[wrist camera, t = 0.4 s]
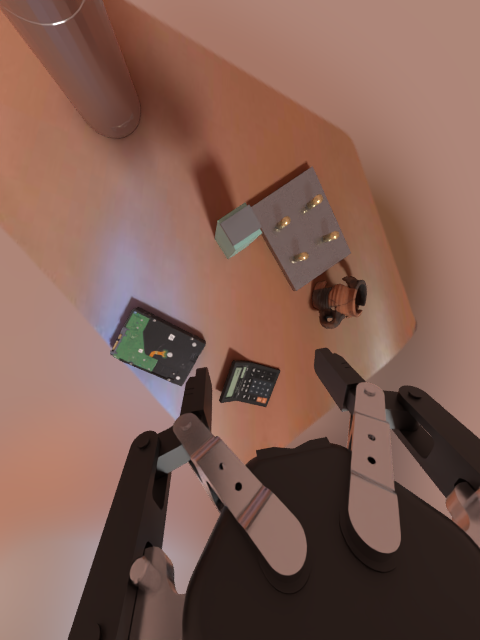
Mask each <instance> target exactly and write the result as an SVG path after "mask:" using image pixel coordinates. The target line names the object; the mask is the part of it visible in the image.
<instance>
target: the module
mask: <svg viewBox="0 0 480 640" xmlns="http://www.w3.org/2000/svg"><path fill="white" fill-rule="evenodd" d="M261 227H262V226H261V224H260V223H259V221H258V219H257V217H256V215H255V214H254V212H253V210H252V208H251V206H250V205H248V206H247V205H246V203H243V204H242V205H240V206H239V207H237V208H236V209H234V210H233V211H231V212H230V213H228V214H227V215H225V216H224V217H222V218H221V219H219V220H218V221H217V227H216V233H215V240H216V242H217V243H218V245H219V246H220V248H221V249H222V251H223V253H224V254H225V256H226V257H227V259H229V258H231V257H232V256H234V255H235V254H237V253H238V252H240V251H241V250H243V249H244V248H246V247H247V246H248V245H249V244H250V243H251V242H253V241H254V240H255V239H256V238H257V237H258V236H259V235H260V234H262V231H261V230H260V228H261Z"/></svg>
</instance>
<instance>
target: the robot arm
mask: <svg viewBox="0 0 480 640" xmlns="http://www.w3.org/2000/svg"><path fill="white" fill-rule="evenodd" d="M0 9H1V10H2V12H3V13H4V14H5V16H6V17H7V18H8V19H9V21H10V22H11V23H12V25H13V26H14V27H15V29H16V30H17V31H18V33H19V34H20V35H21V37H22V38H23V39H24V41H25V42H26V43H27V45H28V46H29V47H30V49H31V50H32V51H33V53H34V54H35V55H36V57H37V58H38V59H39V60H40V62H41V63H42V64H43V66H44V67H45V68H46V70H47V71H48V72H49V74H50V75H51V76H52V78H53V79H54V80H55V82H56V83H57V84H58V86H59V87H60V88H61V90H62V91H63V92H64V94H65V95H66V96H67V98H68V99H69V100H70V102H71V103H72V104H73V106H74V107H75V108H76V110H77V111H78V112H79V114H80V115H81V116H82V118H83V119H84V120H85V121H86V123H87V124H88V125H89V126H90V127H91V128H92V129H94V130H95V131H96V132H98V133H100V134H102V135H104V136H107V137H110V138H121V137H125V136H127V135H129V134H130V133H132V132H133V131H134V130H135V128H136V127H137V125H138V122H139V120H140V114H141V110H140V102H139V98H138V95H137V93H136V90H135V87H134V85H133V82H132V79H131V77H130V74H129V71H128V68H127V66H126V63H125V60H124V57H123V55H122V52H121V49H120V47H119V44H118V41H117V39H116V36H115V33H114V31H113V28H112V25H111V23H110V20H109V17H108V14H107V12H106V9H105V6H104V4H103V1H102V0H0ZM314 369H315V372H316V374H317V376H318V377H319V379H320V380H321V382H322V383H323V384H324V386H325V387H326V389H327V390H328V392H329V393H330V395H331V396H332V398H333V399H334V401H335V402H336V404H337V405H338V407H339V408H340V410H341V411H342V412H343V411H349V412H350V421H349V430H348V440H347V447H346V448H345V447H343V446H340V445H337V444H333V443H330V442H329V441H328V439H327V437H325V438H319V439H315V440H309V441H307V442H306V443H304V444H302V445H300V446H298V447H296V448H293V449H290V448H279V447H271V448H266V449H261V450H256V454H257V457H255V458H253V459H252V460H250V461H249V462H248V463H247V464H246V465H244V464H243V463H242V462H241V460H240V459H239V458H238V457H237V456H236V455H235V454H234V453H233V452H232V451H231V449H230V448H229V447H228V446H227V445H226V444H225V443H224V442H223V441H222V440H221V439H220V438H219V437H218V436H216V437H215V436H214V435H213V434H212V433H211V421H212V384H211V380H210V376H209V372H208V368H207V367H204V368H198V369H196V376H195V377H190V378H189V380H188V381H187V382H186V386H185V391H184V397H183V402H182V407H181V413H180V417H179V418H177V420H176V421H175V423H174V425H173V426H172V427H170V428H169V429H167V430H165V431H163V432H161V433H159V434H157V433H156V432H154V431H146V432H144V433H142V434H140V435H139V436H138V437H137V438H136V439H135V440H134V441H133V443H132V445H131V447H130V450H129V453H128V456H127V459H126V462H125V465H124V469H123V471H122V475H121V478H120V481H119V484H118V487H117V490H116V493H115V496H114V499H113V502H112V505H111V508H110V511H109V514H108V518H107V520H106V524H105V527H104V530H103V533H102V536H101V539H100V542H99V545H98V548H97V551H96V554H95V558H94V561H93V564H92V567H91V569H90V573H89V576H88V579H87V582H86V585H85V588H84V591H83V594H82V597H81V600H80V604H79V606H78V609H77V612H76V615H75V618H74V622H73V625H72V628H71V631H70V634H69V637H68V640H480V439H479V438H478V437H477V436H475V435H474V434H473V433H472V432H471V431H470V430H469V429H467V428H466V427H465V426H464V425H463V424H461V423H460V422H459V421H458V420H457V419H456V418H455V417H454V416H452V415H451V414H450V413H449V412H448V411H446V410H445V409H444V408H443V407H442V406H441V405H440V404H439V403H437V402H436V401H435V400H434V399H432V398H431V397H430V396H429V395H428V394H427V393H426V392H424V391H423V390H421V389H419V388H416V387H413V386H402V387H400V388H399V391H398V392H393V391H383V390H382V389H381V388H379V387H378V386H376V385H374V384H372V383H368V382H365V380H364V379H363V378H362V377H361V376H360V375H359V374H358V373H357V372H356V371H355V370H354V369H353V368H352V367H351V366H350V365H349V364H348V363H347V362H346V361H345V359H344V358H343V357H341V356H339V355H338V354H336V353H334V354H332V352H331V351H330V350H329V349H328V348H321V349H316V350H315V360H314ZM390 429H392V430H393V431H394V432H395V434H396V435H397V436H398V438H399V439H400V440H401V441H402V443H403V444H404V445H405V447H406V448H407V449H408V450H409V451H410V453H411V454H412V455H413V457H414V458H415V459H416V460H417V462H418V463H419V464H420V466H421V467H422V468H423V469H424V471H425V472H426V473H427V474H428V476H429V477H430V478H431V480H432V481H433V482H434V483H435V485H436V486H437V487H438V488H439V490H440V491H441V492H442V493H443V495H444V496H445V497H446V507H447V509H448V511H449V513H450V515H451V516H452V520H451V519H449V518H448V517H446V516H445V515H444V514H442V513H441V512H439V511H438V510H436V509H435V508H434V507H432V506H431V505H429V504H428V503H426V502H425V501H423V500H422V499H420V498H419V497H418V496H416V495H415V494H413V493H412V492H410V491H409V490H407V489H406V488H405V487H403V486H402V485H400V484H399V483H397V482H396V481H394V477H393V463H392V451H391V437H390ZM424 429H425V430H426V431H427V432H428V433H429V434H430V435H431V436H430V435H429V434H428V433H427V432H426V431H425V430H424ZM187 462H188V464H189V465H190V467H191V469H192V470H193V472H194V473H195V475H196V476H197V478H198V479H199V481H200V482H201V484H202V485H203V487H204V488H205V490H206V492H207V494H208V496H209V497H210V499H211V501H212V502H213V504H214V505H215V507H216V509H217V510H218V512H219V513H220V516H219V518H218V520H217V523H216V524H215V527H214V529H213V531H212V533H211V535H210V537H209V539H208V542H207V544H206V546H205V548H204V550H203V552H202V554H201V557H200V559H199V561H198V563H197V565H196V567H195V569H194V571H193V574H192V576H191V578H190V581H189V584H188V587H187V591H186V594H178V593H177V591H176V587H175V582H174V567H173V564H172V561H171V560H170V559H169V557H168V556H167V555H166V554H165V553H164V552H163V550H162V543H163V535H164V528H165V520H166V511H167V504H168V496H169V488H170V480H171V472H172V471H173V470H175V469H176V468H178V467H180V466H181V465H183V464H185V463H187Z"/></svg>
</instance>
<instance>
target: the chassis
mask: <svg viewBox="0 0 480 640" xmlns="http://www.w3.org/2000/svg"><path fill="white" fill-rule="evenodd" d="M251 208H252V210H253V212H254V214H255V215H256V217H257V219H258V221H259V223H260V224H261V226H262V227H261V228H260V230H261V231H262V236H263V238H264V240H265V241H266V243H267V245H268V247H269V249H270V250H271V252H272V254H273V256H274V258H275V259H276V261H277V263H278V265H279V266H280V268H281V270H282V272H283V274H284V275H285V277H286V279H287V281H288V282H289V284H290V286H291V288H292V290H293V291H297V290H298V289H300V288H301V287H303V286H304V285H306V284H307V283H309V282H310V281H311V280H313V279H314V278H316V277H317V276H319V275H320V274H322V273H323V272H325V271H326V270H328V269H329V268H330V267H332V266H333V265H335V264H336V263H338V262H339V261H341V260H342V259H344V258H345V257H346V256H348V255H349V254H351V252H350V250H349V247H348V245H347V243H346V241H345V238H344V236H343V234H342V232H341V229H340V227H339V225H338V223H337V220H336V218H335V216H334V214H333V211H332V209H331V207H330V205H329V202H328V200H327V198H326V196H325V193H324V191H323V189H322V187H321V184H320V182H319V180H318V178H317V175H316V173H315V171H314V169H313V166H312V167H311V168H309V169H308V170H306V171H305V172H303V173H302V174H300V175H299V176H297V177H296V178H294V179H293V180H291V181H290V182H288V183H287V184H285V185H284V186H282V187H281V188H279V189H278V190H276V191H275V192H273V193H272V194H270V195H269V196H267V197H266V198H264V199H263V200H261V201H260V202H258V203H257V204H255V205H254V206H252V207H251Z"/></svg>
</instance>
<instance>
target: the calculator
mask: <svg viewBox="0 0 480 640" xmlns="http://www.w3.org/2000/svg"><path fill="white" fill-rule="evenodd" d="M279 373H280V370H279V369H275V368H271V367H267V366H264V365H260V364H256V363H253V362H249V361H234V360H233V362H232V365H231V368H230V371H229V374H228V376H227V379H226V382H225V385H224V388H223V390H222V393H221V396H220V399H219V401H220V402H221V403H224V402H231V401H241V402H245V403H250V404H254V405H259V406H263V407H266V406H267V404H268V401H269V399H270V396H271V394H272V391H273V388H274V386H275V383H276V381H277V378H278V376H279Z"/></svg>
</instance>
